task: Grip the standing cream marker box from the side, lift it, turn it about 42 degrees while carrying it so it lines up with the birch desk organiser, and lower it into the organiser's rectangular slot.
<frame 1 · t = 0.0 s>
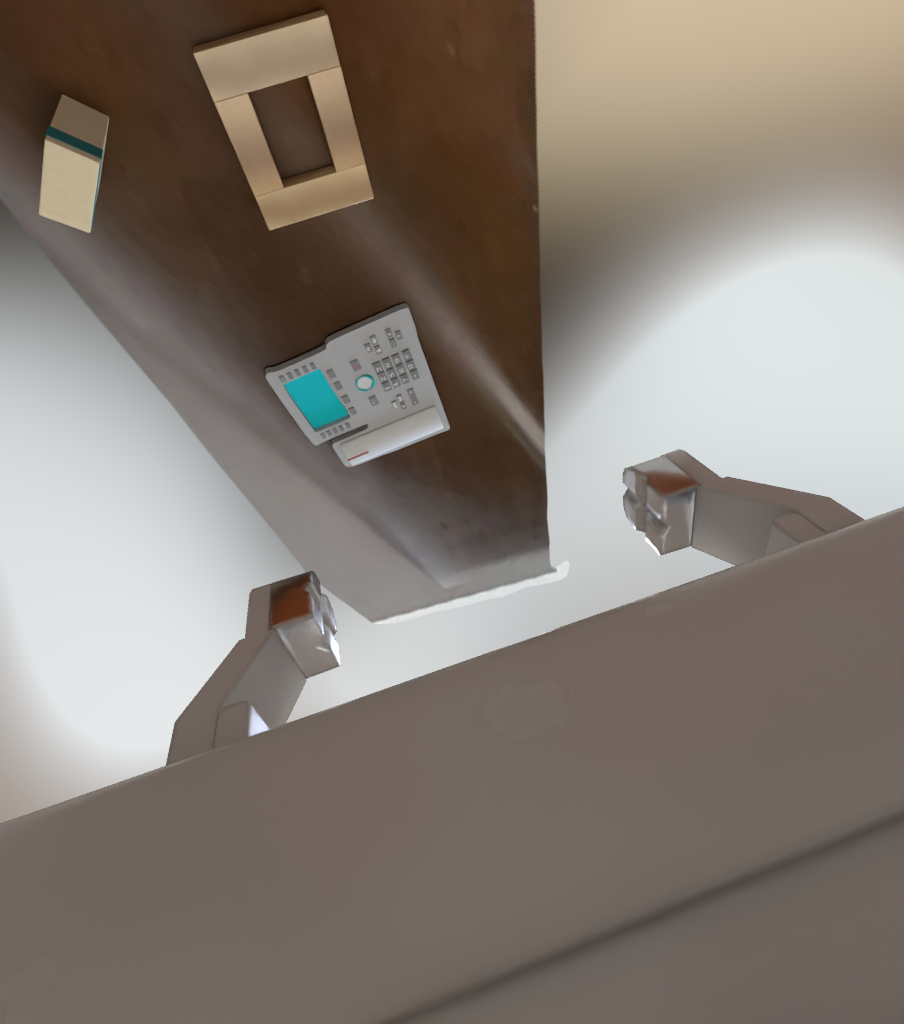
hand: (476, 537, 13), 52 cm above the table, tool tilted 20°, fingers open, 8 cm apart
marker box: (82, 140, 45), on the table
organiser: (292, 127, 48), on the table
office telephone: (365, 396, 75), on the table
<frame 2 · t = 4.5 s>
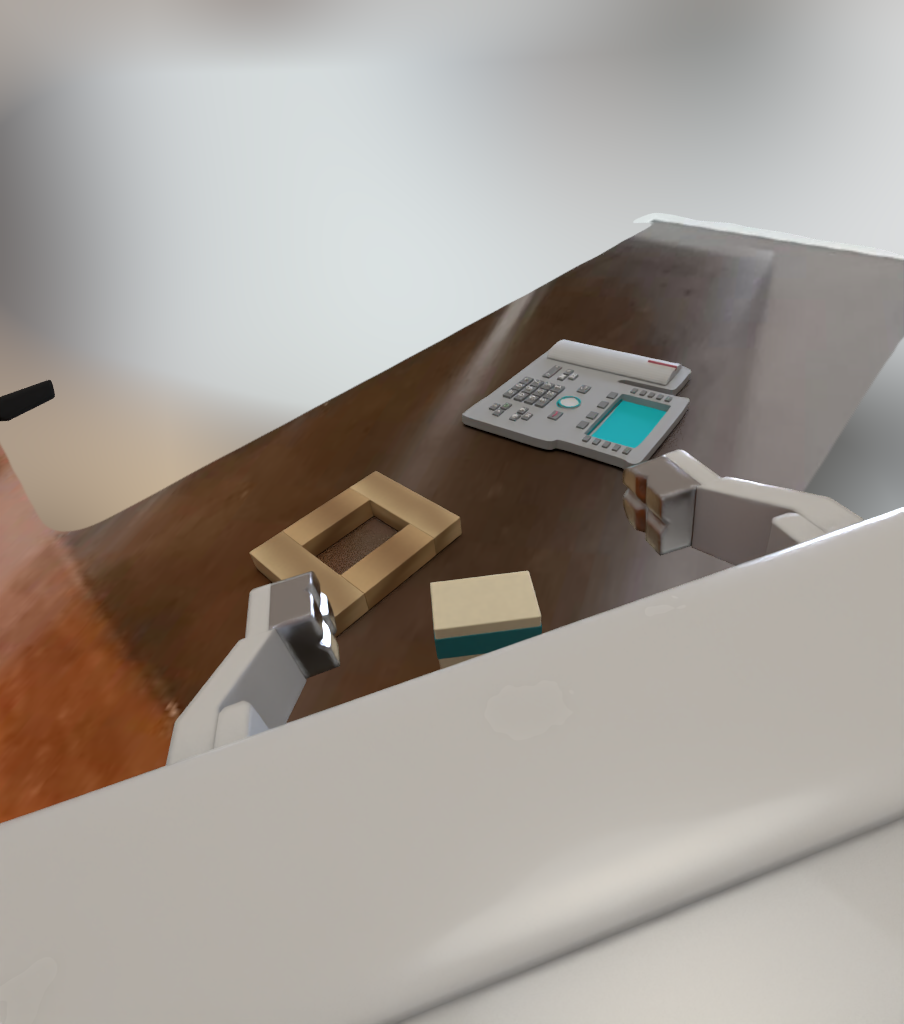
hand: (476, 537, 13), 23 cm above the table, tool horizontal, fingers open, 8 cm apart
marker box: (489, 696, 34), on the table
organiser: (360, 551, 46), on the table
office telephone: (590, 403, 61), on the table
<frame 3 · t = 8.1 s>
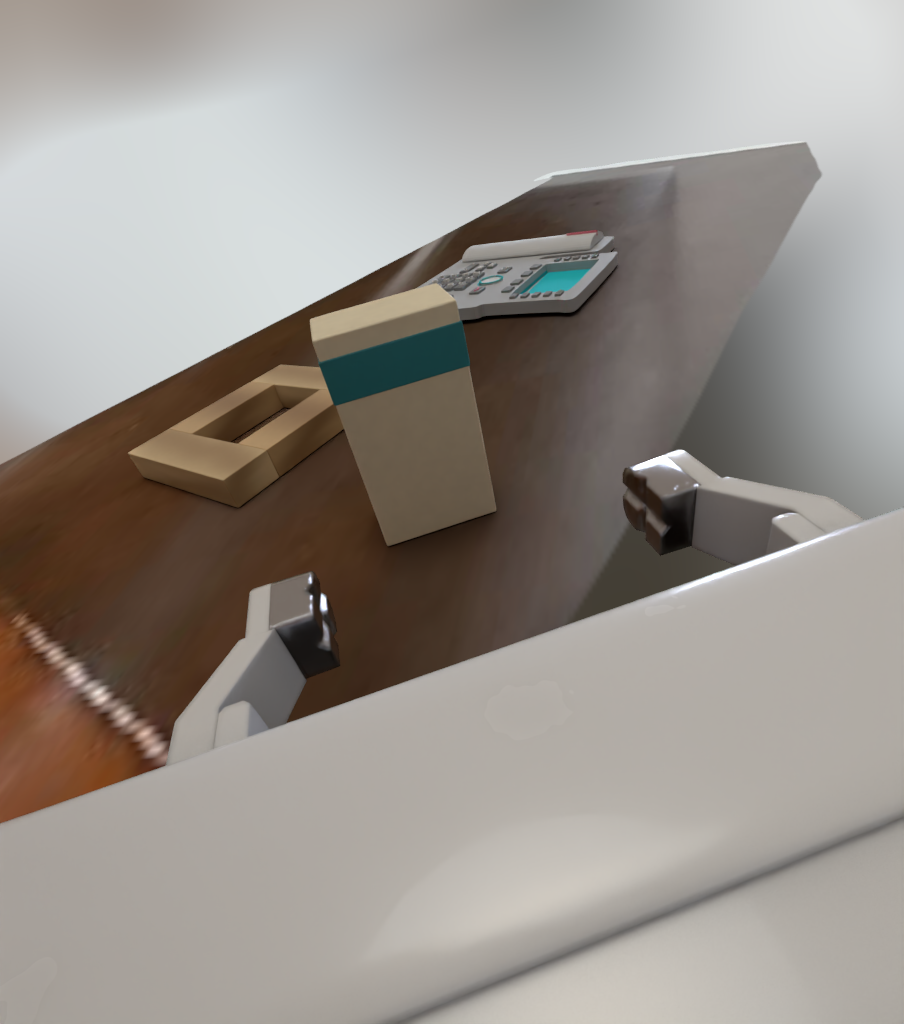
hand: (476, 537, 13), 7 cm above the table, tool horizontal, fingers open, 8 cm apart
marker box: (435, 511, 26), on the table
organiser: (269, 435, 38), on the table
office telephone: (515, 284, 56), on the table
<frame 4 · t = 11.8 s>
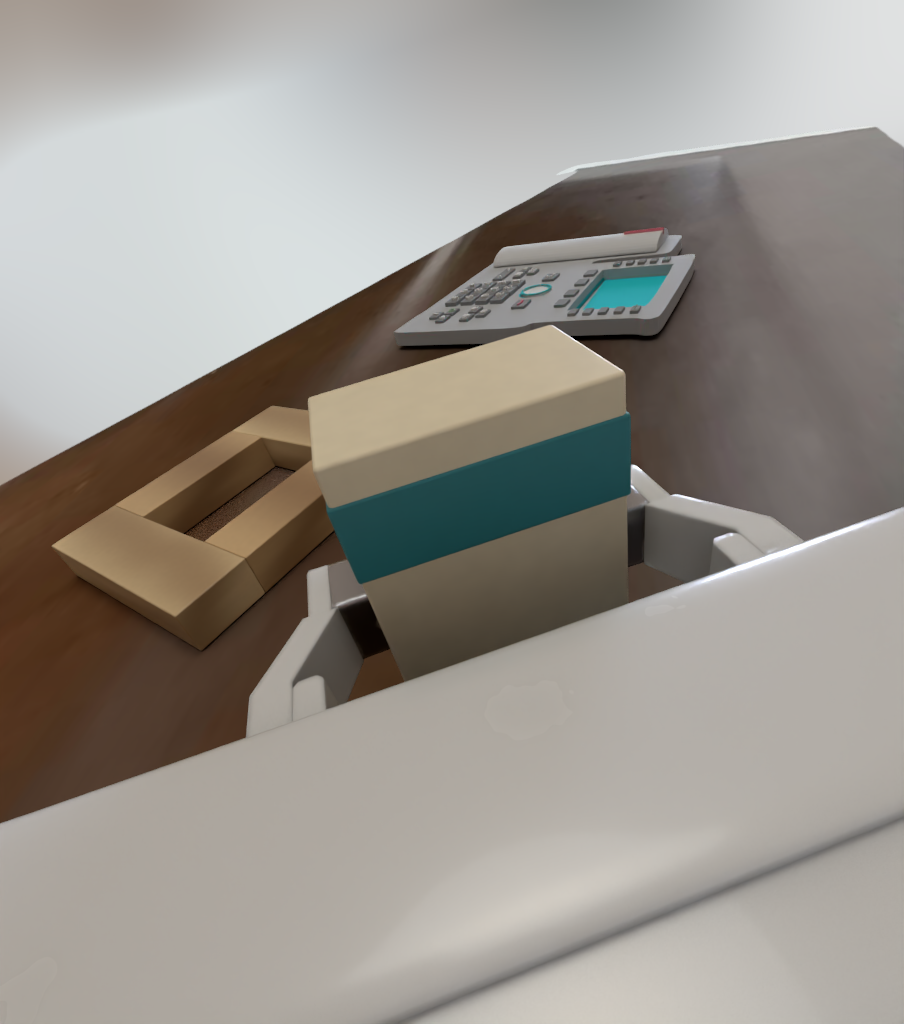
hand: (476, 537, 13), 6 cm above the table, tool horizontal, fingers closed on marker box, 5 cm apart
marker box: (519, 692, 16), on the table, touching gripper
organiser: (253, 513, 27), on the table
office telephone: (563, 295, 45), on the table
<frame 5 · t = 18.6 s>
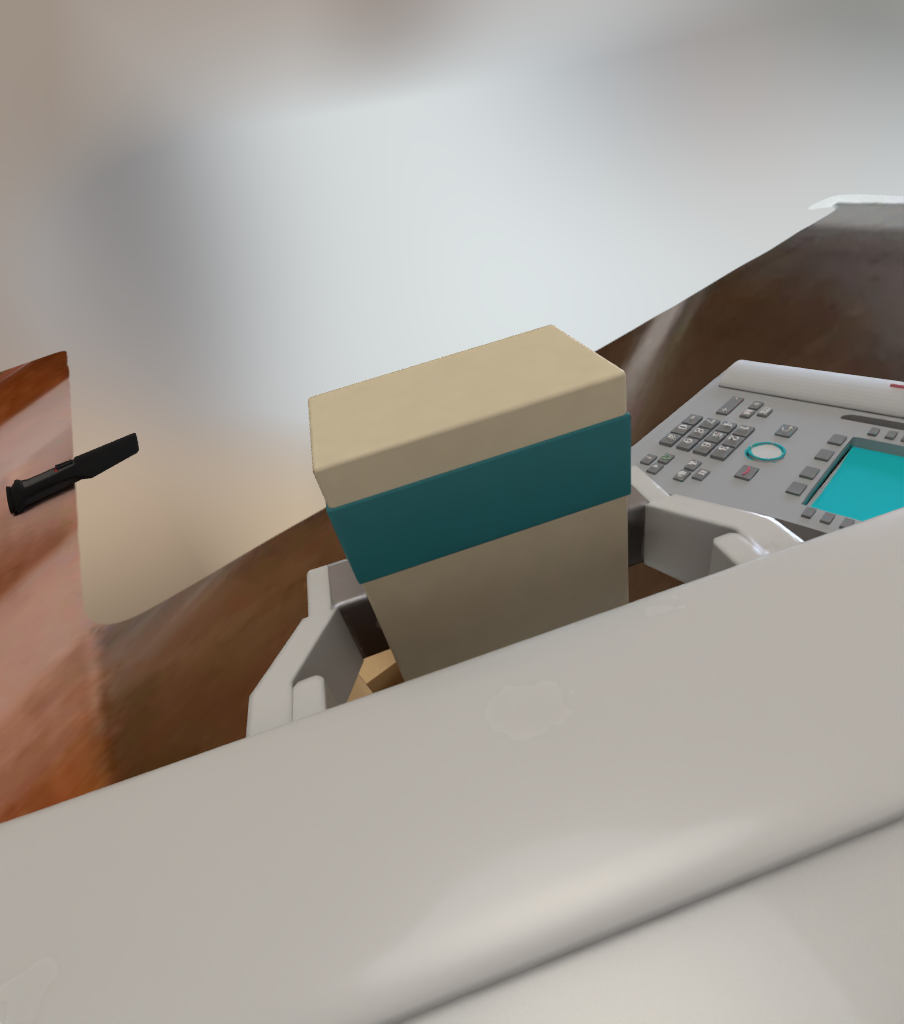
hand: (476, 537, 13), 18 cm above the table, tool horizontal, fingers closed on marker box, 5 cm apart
marker box: (519, 692, 16), point 12 cm above the table, touching gripper
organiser: (453, 691, 30), on the table
electric trimmer: (81, 482, 64), on the table
office telephone: (796, 451, 41), on the table
when the fingers open (5 cm above the table, at t = 25.4 s): marker box stays where it is, resting in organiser.
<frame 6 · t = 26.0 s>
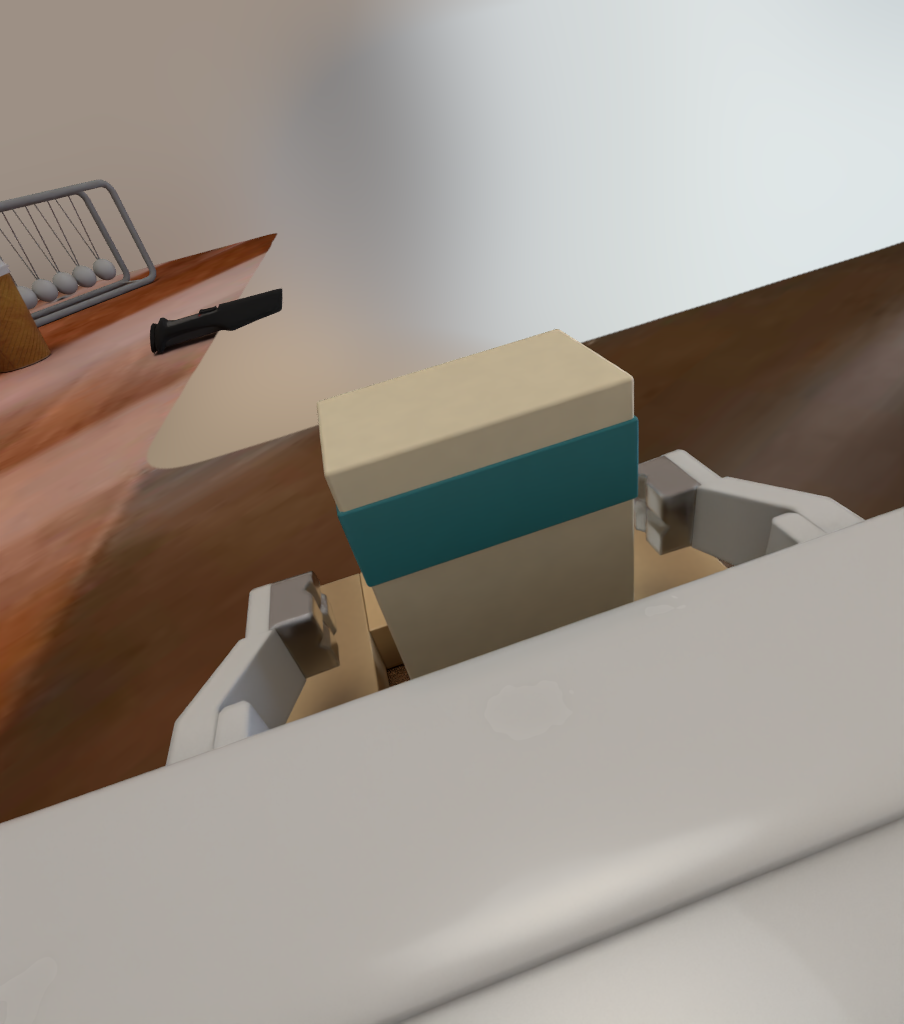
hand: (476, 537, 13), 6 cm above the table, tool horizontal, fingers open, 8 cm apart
newton's cradle: (80, 307, 99), on the table
marker box: (523, 693, 16), resting in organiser
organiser: (518, 695, 16), on the table
electric trimmer: (222, 334, 60), on the table
disposable coffee cup: (26, 363, 69), on the table
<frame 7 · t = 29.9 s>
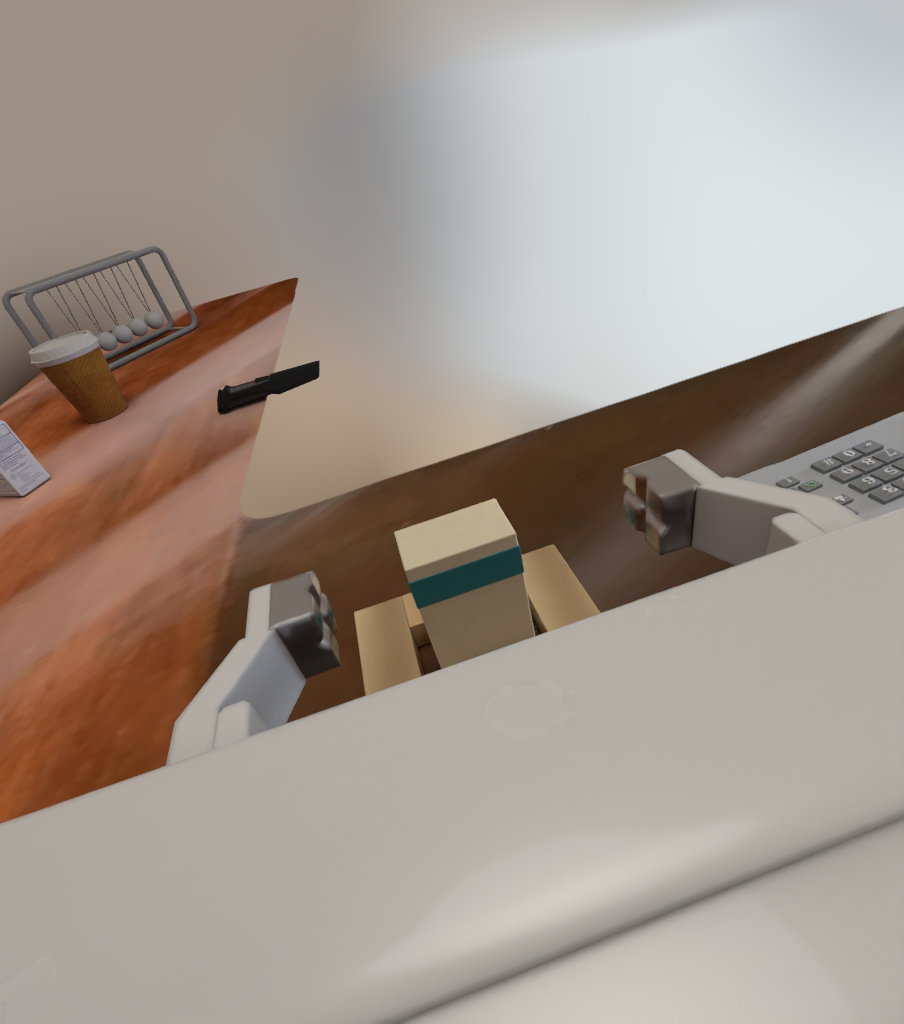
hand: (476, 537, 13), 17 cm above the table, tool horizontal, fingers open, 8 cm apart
medicine box: (19, 489, 69), on the table
newton's cradle: (134, 353, 115), on the table
marker box: (487, 658, 32), resting in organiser
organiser: (485, 659, 32), on the table
electric trimmer: (271, 396, 76), on the table
disposable coffee cup: (108, 414, 85), on the table
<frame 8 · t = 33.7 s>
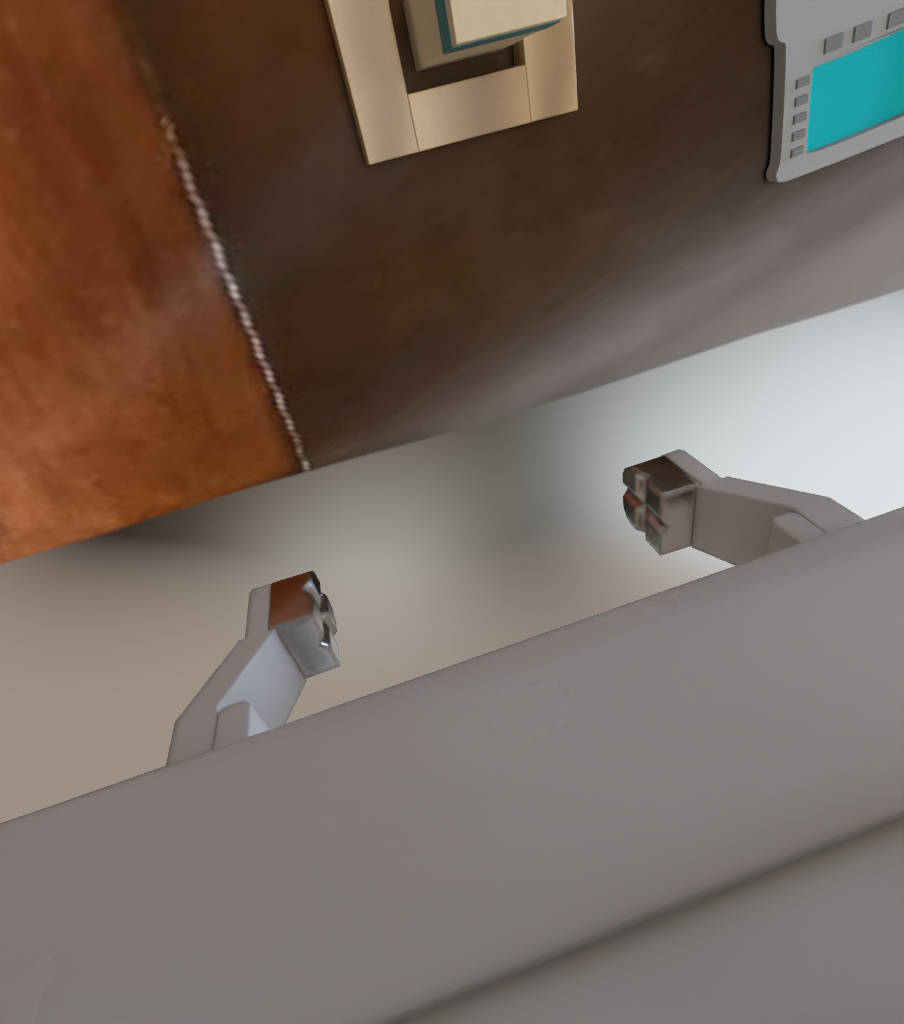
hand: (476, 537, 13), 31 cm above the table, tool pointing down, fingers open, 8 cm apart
marker box: (452, 27, 32), resting in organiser
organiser: (450, 28, 32), on the table
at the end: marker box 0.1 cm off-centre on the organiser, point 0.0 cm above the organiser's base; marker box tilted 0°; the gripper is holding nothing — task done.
